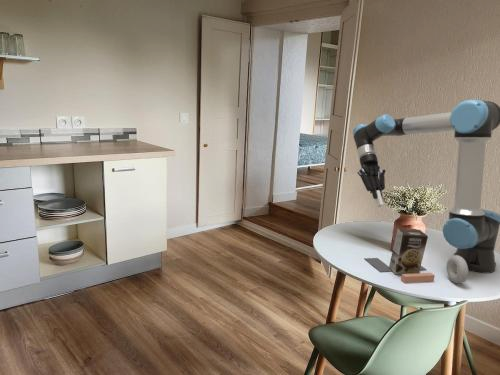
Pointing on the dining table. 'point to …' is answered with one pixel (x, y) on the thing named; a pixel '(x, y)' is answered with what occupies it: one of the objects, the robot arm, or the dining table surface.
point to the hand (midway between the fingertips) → (380, 205)
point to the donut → (457, 269)
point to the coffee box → (408, 251)
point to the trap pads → (382, 265)
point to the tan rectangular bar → (417, 277)
